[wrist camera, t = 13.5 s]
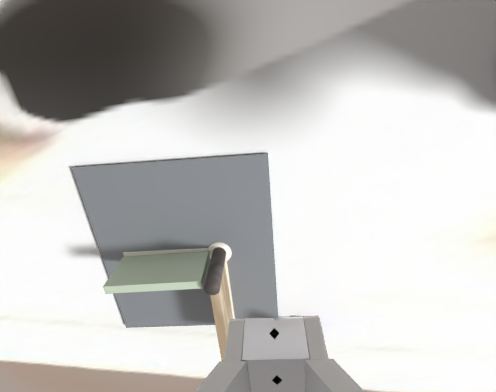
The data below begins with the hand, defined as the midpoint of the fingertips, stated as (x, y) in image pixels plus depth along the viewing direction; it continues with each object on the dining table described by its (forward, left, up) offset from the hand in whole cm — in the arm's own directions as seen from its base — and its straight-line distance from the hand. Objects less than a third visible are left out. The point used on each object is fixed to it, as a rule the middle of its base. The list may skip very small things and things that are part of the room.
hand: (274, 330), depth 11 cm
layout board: (+13, +18, -31) cm, 38 cm away
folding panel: (+16, +18, -30) cm, 39 cm away
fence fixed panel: (+8, +25, -31) cm, 40 cm away
